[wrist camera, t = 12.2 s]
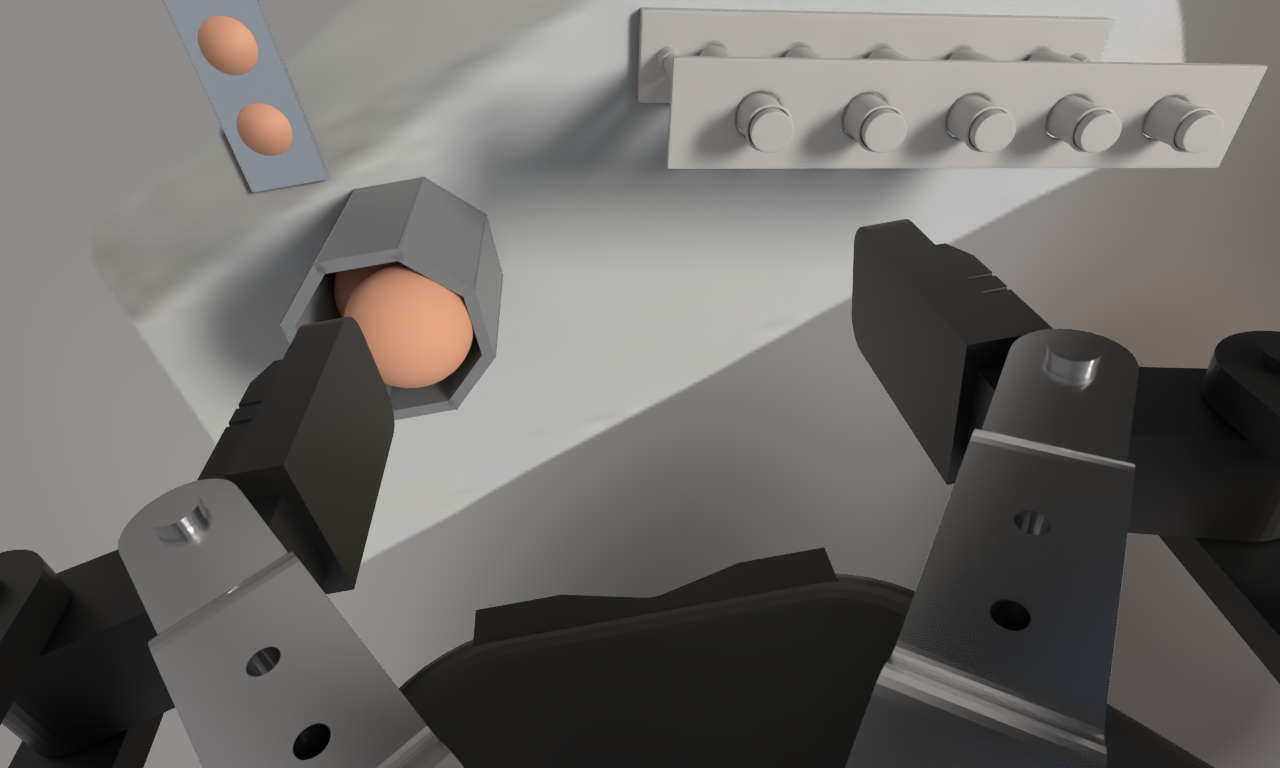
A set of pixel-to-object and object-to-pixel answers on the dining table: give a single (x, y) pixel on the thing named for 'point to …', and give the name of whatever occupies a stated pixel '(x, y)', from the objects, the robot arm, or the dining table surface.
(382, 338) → the ball
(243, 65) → the card
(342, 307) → the ball in tube
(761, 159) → the test tube rack
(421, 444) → the dining table surface
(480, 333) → the tube
